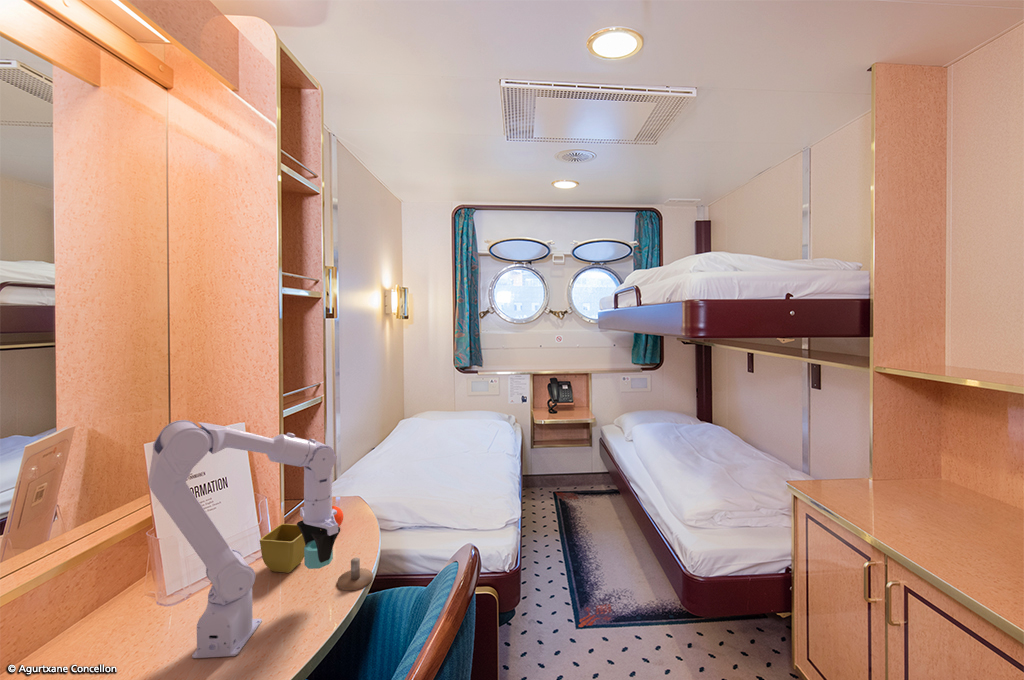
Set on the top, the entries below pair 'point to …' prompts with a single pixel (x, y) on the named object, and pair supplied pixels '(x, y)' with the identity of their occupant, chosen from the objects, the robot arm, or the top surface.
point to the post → (355, 577)
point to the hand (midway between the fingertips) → (318, 555)
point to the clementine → (338, 515)
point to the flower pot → (283, 548)
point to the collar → (314, 557)
